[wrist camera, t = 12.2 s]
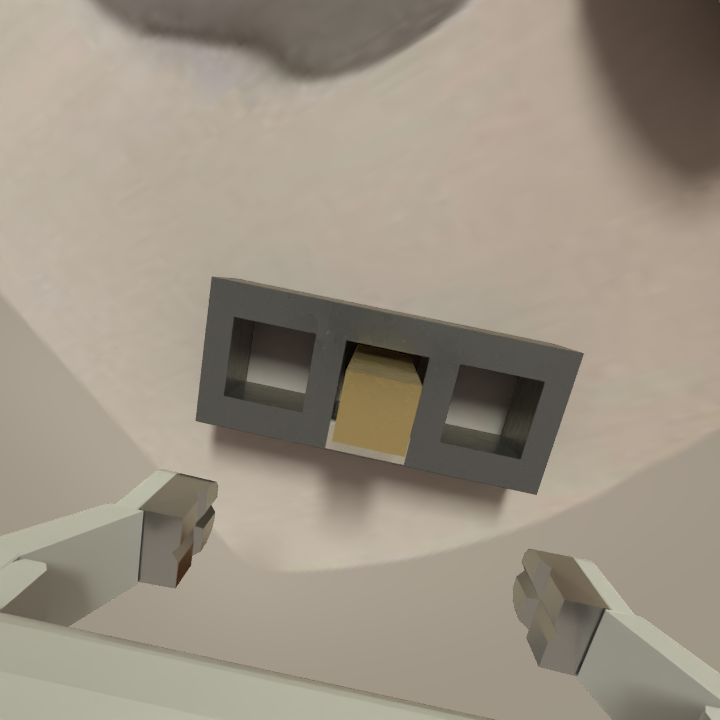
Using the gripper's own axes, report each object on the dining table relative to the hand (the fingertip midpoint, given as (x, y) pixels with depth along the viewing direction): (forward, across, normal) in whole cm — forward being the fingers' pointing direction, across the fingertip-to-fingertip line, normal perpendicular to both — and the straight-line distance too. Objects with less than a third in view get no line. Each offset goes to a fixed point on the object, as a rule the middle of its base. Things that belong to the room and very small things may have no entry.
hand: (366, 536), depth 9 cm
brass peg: (+19, 0, 0) cm, 19 cm away
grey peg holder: (+19, 0, 0) cm, 19 cm away
